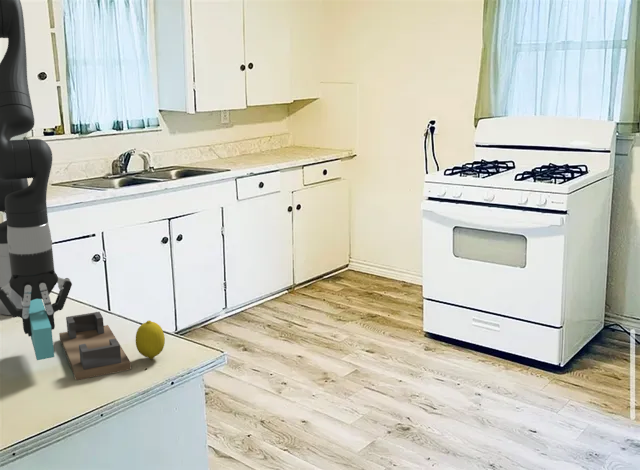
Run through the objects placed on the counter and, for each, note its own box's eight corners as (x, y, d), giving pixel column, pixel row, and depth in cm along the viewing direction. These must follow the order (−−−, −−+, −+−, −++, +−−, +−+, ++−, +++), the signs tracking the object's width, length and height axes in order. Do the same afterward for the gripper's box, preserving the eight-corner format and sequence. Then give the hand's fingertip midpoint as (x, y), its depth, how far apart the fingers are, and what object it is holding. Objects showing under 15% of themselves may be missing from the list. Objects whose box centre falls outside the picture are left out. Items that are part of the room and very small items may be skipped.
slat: (28, 327, 139) (24, 299, 137) (43, 324, 140) (41, 297, 138) (36, 360, 125) (33, 330, 123) (54, 357, 126) (51, 327, 125)
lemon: (151, 367, 131) (148, 327, 129) (130, 360, 134) (128, 322, 132) (171, 357, 135) (169, 319, 134) (151, 351, 138) (149, 313, 136)
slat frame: (59, 339, 144) (57, 317, 143) (108, 331, 149) (106, 309, 148) (75, 380, 125) (73, 354, 124) (131, 369, 130) (129, 344, 129)
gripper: (67, 238, 134) (74, 320, 138) (-12, 246, 128) (-2, 333, 132) (72, 247, 127) (80, 333, 132) (-11, 256, 121) (1, 347, 126)
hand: (39, 332), depth 132 cm, fingers closed on slat, 3 cm apart
